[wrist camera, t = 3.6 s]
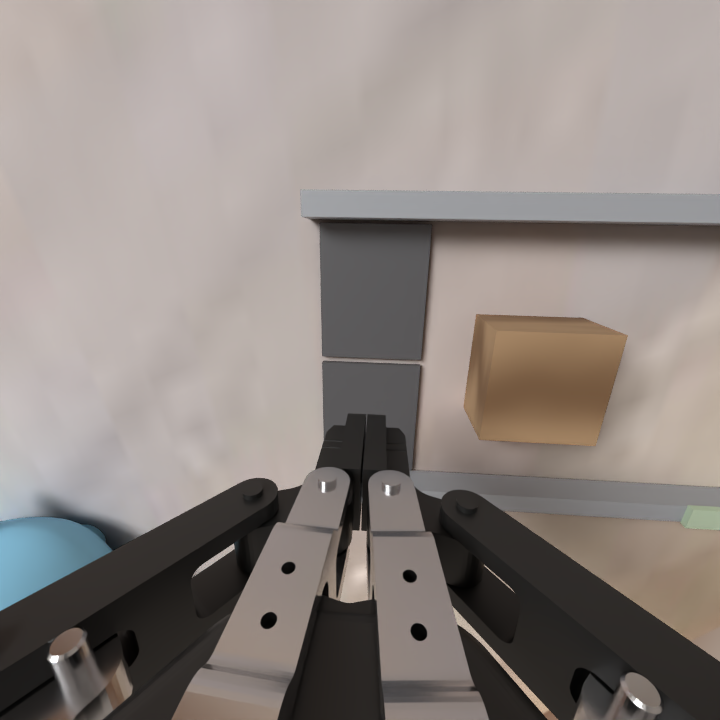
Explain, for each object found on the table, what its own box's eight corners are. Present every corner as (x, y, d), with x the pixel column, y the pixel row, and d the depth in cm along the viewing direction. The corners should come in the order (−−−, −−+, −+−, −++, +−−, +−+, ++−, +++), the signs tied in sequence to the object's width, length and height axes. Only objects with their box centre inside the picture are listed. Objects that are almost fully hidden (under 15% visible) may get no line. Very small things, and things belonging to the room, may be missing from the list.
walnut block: (475, 313, 20) (496, 330, 16) (581, 317, 20) (627, 335, 16) (463, 405, 22) (479, 439, 18) (558, 410, 22) (595, 446, 18)
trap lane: (308, 192, 18) (298, 185, 16) (1021, 200, 16) (1123, 194, 14) (317, 480, 24) (310, 504, 22) (833, 510, 23) (883, 540, 20)
